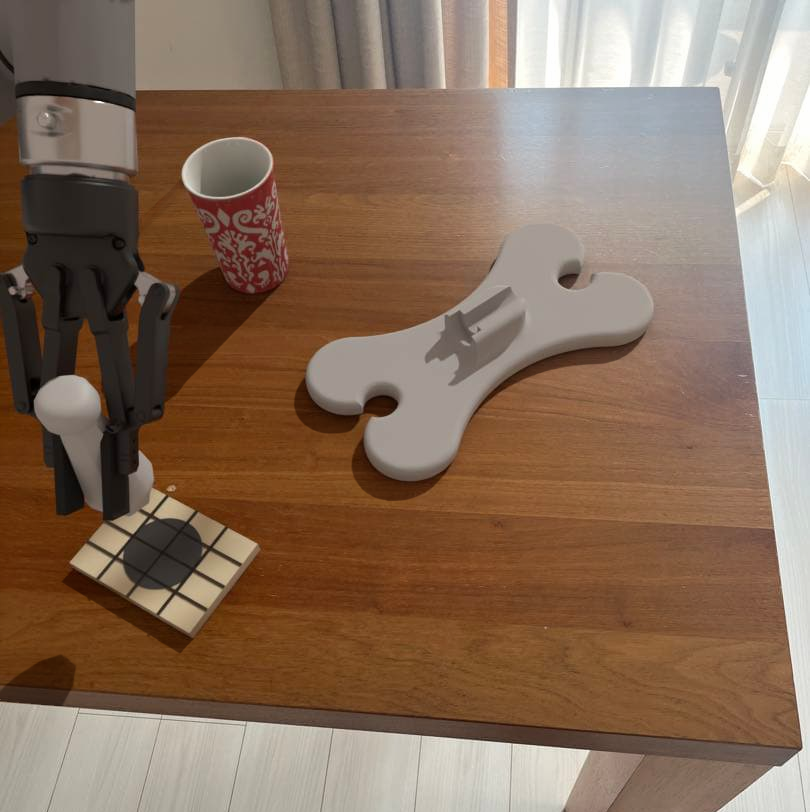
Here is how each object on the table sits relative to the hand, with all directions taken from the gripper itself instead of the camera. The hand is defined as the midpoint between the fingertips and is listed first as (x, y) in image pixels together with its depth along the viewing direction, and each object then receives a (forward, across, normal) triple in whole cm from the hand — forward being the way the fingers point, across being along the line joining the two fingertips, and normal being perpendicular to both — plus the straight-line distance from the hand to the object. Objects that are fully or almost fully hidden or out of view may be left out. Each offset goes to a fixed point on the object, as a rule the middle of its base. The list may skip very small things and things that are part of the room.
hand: (93, 512), depth 66 cm
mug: (-19, -1, +40) cm, 44 cm away
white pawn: (0, 0, +6) cm, 6 cm away
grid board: (+7, 0, +13) cm, 15 cm away
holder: (-12, +25, +32) cm, 43 cm away
